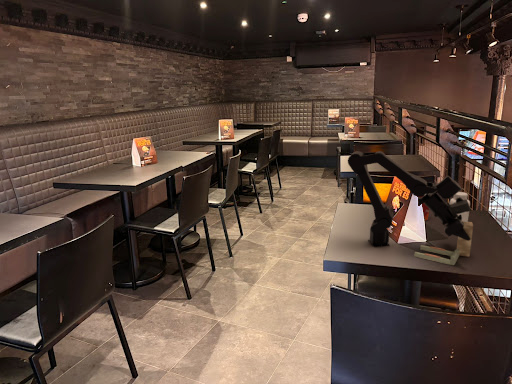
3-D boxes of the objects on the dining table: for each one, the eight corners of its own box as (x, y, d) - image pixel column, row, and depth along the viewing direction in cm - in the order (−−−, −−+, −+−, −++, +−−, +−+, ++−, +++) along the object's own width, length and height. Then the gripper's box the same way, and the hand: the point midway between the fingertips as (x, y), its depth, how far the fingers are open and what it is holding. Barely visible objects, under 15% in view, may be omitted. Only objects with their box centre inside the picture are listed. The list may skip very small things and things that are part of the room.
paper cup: (432, 221, 171) (434, 192, 167) (414, 221, 173) (416, 192, 169) (428, 216, 178) (430, 188, 175) (411, 215, 180) (413, 187, 176)
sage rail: (414, 256, 137) (414, 249, 136) (421, 248, 143) (421, 241, 142) (453, 265, 129) (454, 257, 128) (458, 256, 135) (459, 249, 134)
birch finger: (457, 255, 136) (460, 224, 133) (456, 250, 140) (459, 221, 137) (470, 256, 135) (473, 225, 132) (469, 252, 138) (472, 222, 135)
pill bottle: (466, 229, 160) (470, 196, 156) (446, 227, 164) (449, 194, 160) (467, 224, 166) (471, 192, 162) (448, 221, 170) (451, 190, 166)
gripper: (459, 199, 125) (493, 234, 123) (455, 186, 141) (485, 216, 140) (431, 219, 130) (463, 252, 128) (430, 204, 146) (459, 233, 145)
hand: (468, 237), depth 135 cm, fingers closed on birch finger, 4 cm apart
